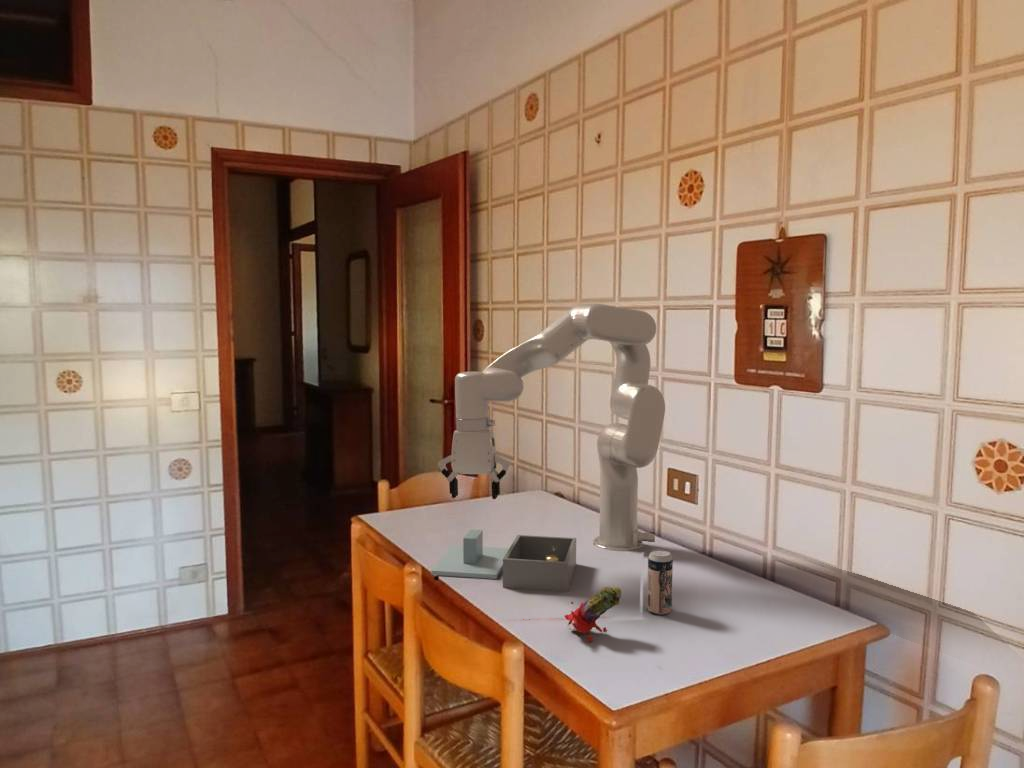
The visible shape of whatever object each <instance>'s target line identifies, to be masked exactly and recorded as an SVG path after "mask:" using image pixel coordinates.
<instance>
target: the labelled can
mask: <svg viewBox="0 0 1024 768" xmlns="http://www.w3.org/2000/svg"><path fill="white" fill-rule="evenodd" d="M671 554H672V553H670V551H667V550H662V549H654V550H652V551H650V552H649V555H648V557H647V596H646V597H647V601H646V603H647V604H646V607H647V610H648V611H649V612H650V613H651V614H653V613H654V614H653V615H657V614H658V616H663V615H664V614H665V615H667V614H670V613H671V612H672V608H673V607H672V606H673V604H672V603H673V602H672V601H673V569H674V568H673V566H674V565H673V563H674V559H673V556H672V555H671ZM665 615H664V616H665Z"/></svg>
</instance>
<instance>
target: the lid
mask: <svg viewBox="0 0 1024 768" xmlns="http://www.w3.org/2000/svg"><path fill="white" fill-rule="evenodd" d="M483 537H484V536H483V530H481V529H469V531H467V533H466V535H464V537H463V538H462V539H463V542H462V543H463V545H459V544H458V545H456V544H452V545H451V546H450V547H449V549H448V550H447V551H445V553H444V555H442V557H441V558H440V559H439V561H437V563H436V564H435V565H434V566H433V568H432V569H431V570H430V575H431V576H444V577H455V578H456V577H460V578H471V579H472V578H474V579H477V578H478V579H489V580H497V579H498V577H500V574H501V572H502V571H503V558H504V556H505V555H506V553H507V552H508V550H509V548H510V547H494V546H491V547H490V546H484V545H483V544H484V543H483V542H484V541H483V540H484V539H483Z"/></svg>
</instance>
